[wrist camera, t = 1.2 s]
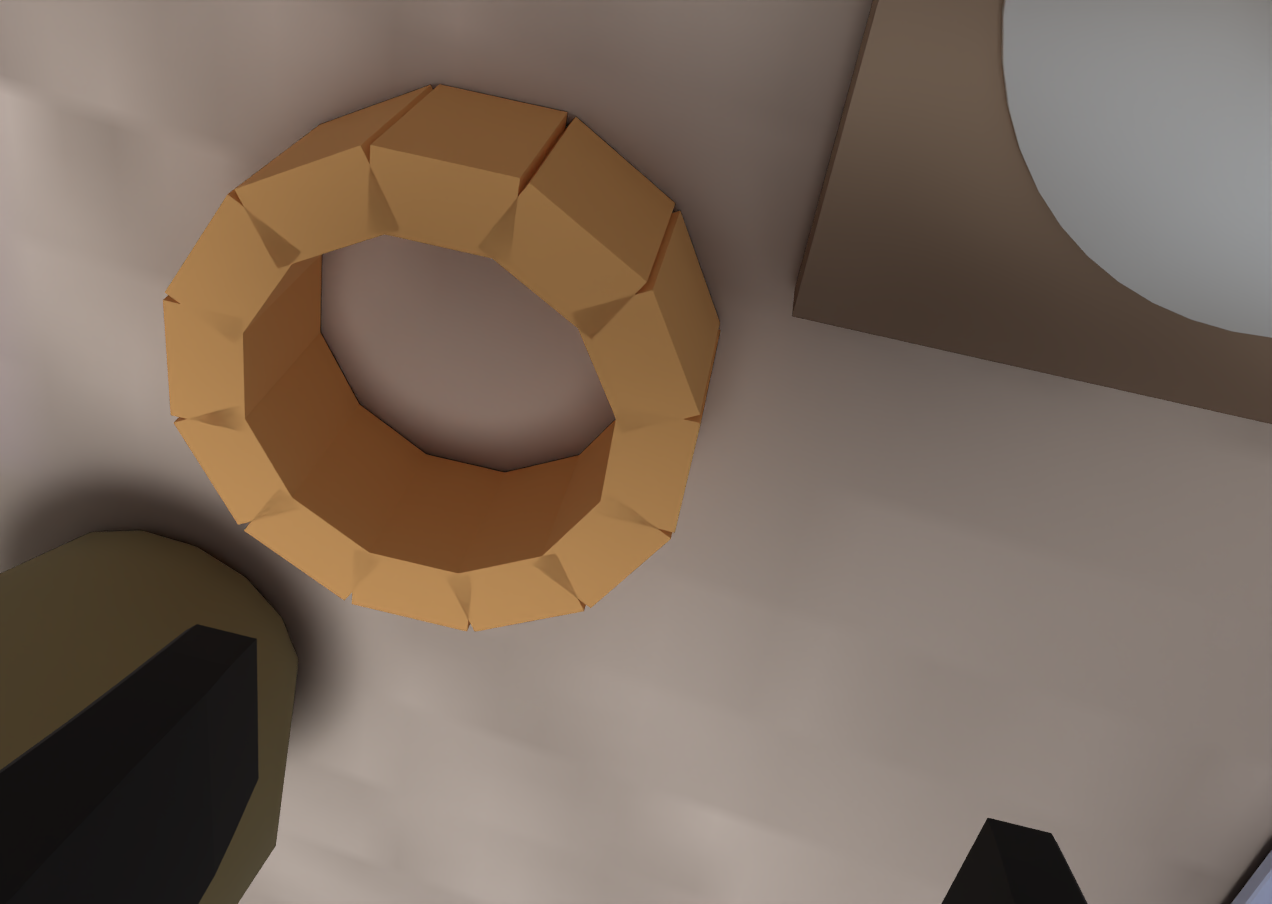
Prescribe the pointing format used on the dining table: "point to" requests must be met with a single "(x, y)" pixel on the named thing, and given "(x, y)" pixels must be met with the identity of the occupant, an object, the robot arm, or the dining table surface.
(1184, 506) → the dining table surface
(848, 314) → the walnut base plate
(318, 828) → the dining table surface
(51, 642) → the squeeze bottle
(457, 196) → the wooden ring
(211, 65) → the dining table surface
